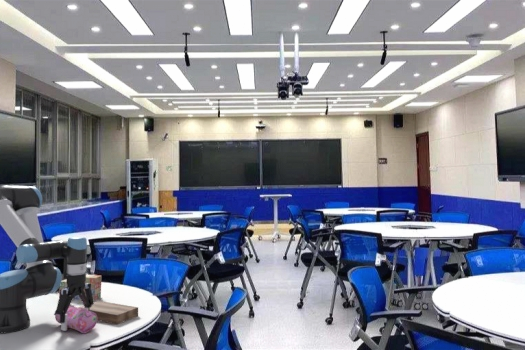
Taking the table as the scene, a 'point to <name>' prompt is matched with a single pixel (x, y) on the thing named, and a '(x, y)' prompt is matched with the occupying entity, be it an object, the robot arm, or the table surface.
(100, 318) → the walnut riser
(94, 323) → the pencil case
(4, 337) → the table surface
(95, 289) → the stack of blocks
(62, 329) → the robot arm
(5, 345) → the table surface
